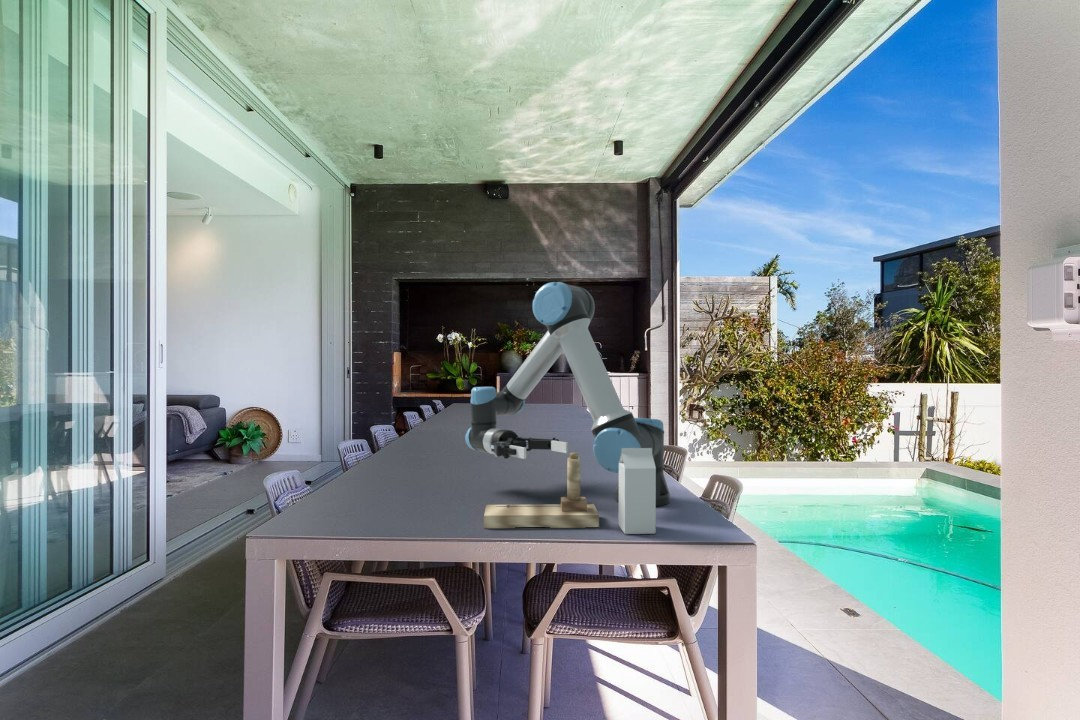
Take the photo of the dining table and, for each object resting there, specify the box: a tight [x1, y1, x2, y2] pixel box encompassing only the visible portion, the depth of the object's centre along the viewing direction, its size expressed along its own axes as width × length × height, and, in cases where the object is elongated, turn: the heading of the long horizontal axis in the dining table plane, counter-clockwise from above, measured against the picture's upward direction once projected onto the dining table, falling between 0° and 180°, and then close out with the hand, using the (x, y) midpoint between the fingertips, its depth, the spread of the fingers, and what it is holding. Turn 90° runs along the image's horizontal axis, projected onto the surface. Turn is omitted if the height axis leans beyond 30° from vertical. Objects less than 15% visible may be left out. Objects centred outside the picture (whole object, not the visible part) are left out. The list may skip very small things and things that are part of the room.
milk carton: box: [618, 448, 657, 535], centre depth 137 cm, size 7×7×19 cm
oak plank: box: [483, 503, 600, 529], centre depth 143 cm, size 27×10×3 cm, turn 92°
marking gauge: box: [560, 452, 588, 512], centre depth 144 cm, size 6×4×14 cm, turn 92°
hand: (546, 450), depth 152 cm, fingers open, 13 cm apart
